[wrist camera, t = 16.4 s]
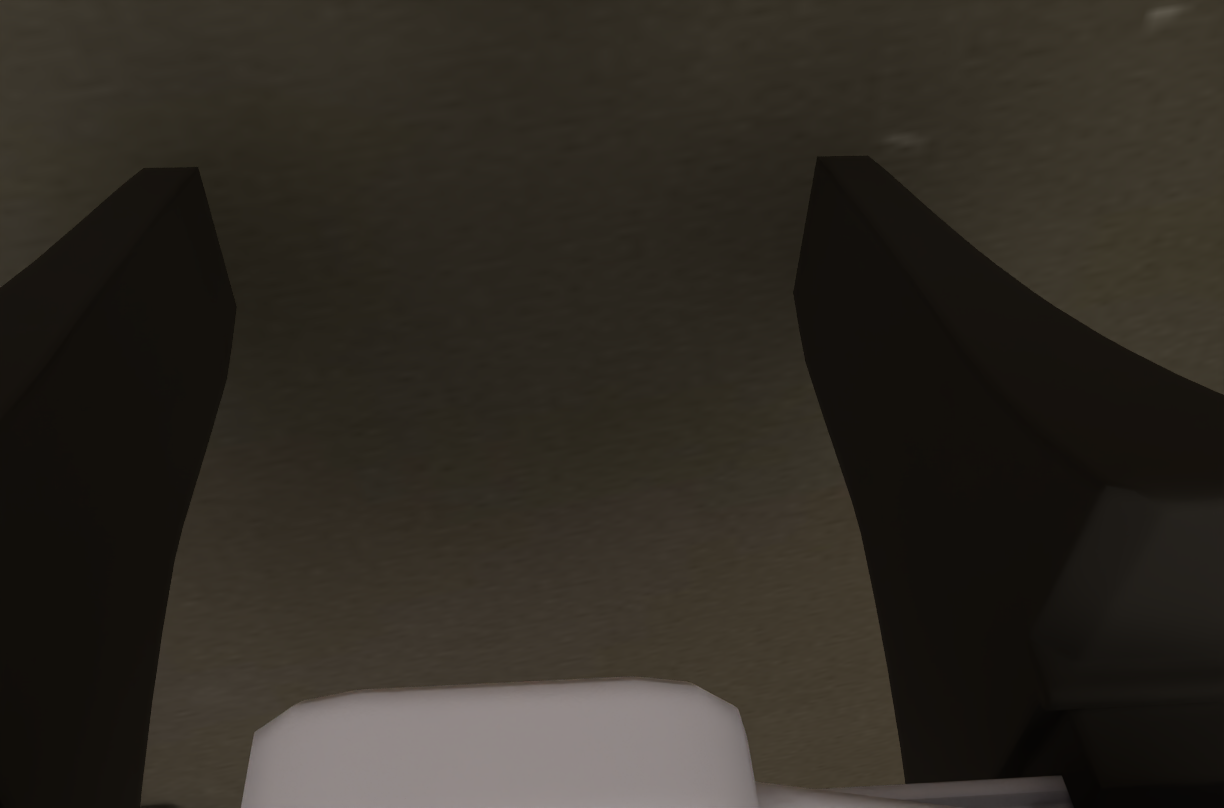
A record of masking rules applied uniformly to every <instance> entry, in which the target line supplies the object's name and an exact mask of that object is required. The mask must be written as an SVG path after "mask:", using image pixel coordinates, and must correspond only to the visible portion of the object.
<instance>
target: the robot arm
mask: <svg viewBox="0 0 1224 808" xmlns="http://www.w3.org/2000/svg"><path fill="white" fill-rule="evenodd" d="M793 294H794V300H795V306H796V312H797V318H798V324H799V330H800V335H801V341H802V346H803V351H804V356H805V361H806V364H807V368H808V371H809V374H810V377H811V380H812V383H813V386H814V389H815V392H816V395H817V399H818V402H819V405H820V408H821V411H822V414H823V417H824V420H825V423H826V426H827V429H828V432H829V435H830V438H831V440H832V443H833V446H834V449H835V452H836V455H837V458H838V461H839V464H840V467H841V470H842V473H843V476H844V479H845V482H846V485H847V488H848V491H849V494H850V497H851V500H852V503H853V507H854V510H855V514H856V517H857V521H858V524H859V528H860V532H861V536H862V540H863V545H864V550H865V555H866V560H867V564H868V569H869V574H870V579H871V583H872V588H873V593H874V598H875V603H876V608H877V614H878V619H879V624H880V630H881V635H882V641H883V646H884V651H885V657H886V662H887V667H888V673H889V679H890V686H891V692H892V698H893V704H894V710H895V716H896V722H897V729H898V735H899V741H900V747H901V754H902V761H903V769H904V776H905V783H906V784H898V785H880V786H862V787H844V788H826V789H811V788H803V787H795V786H787V785H779V784H771V783H763V782H755V780H754V774H753V768H752V762H751V756H750V751H749V745H748V739H747V735H746V732H745V729H744V726H743V723H742V719H741V716H740V713H739V710H738V708H737V707H735V706H734V705H732V704H730V703H728V702H726V701H725V700H723V699H721V698H719V697H717V696H715V695H713V694H711V693H710V692H708V691H706V690H704V689H702V688H700V687H698V686H696V685H694V684H693V683H691V682H689V681H679V680H669V679H659V678H649V677H638V676H626V677H605V678H584V679H563V680H543V681H522V682H501V683H480V684H460V685H439V686H418V687H397V688H377V689H357V690H352V691H347V692H342V693H337V694H332V695H327V696H322V697H317V698H312V699H307V700H302V701H300V702H299V703H297V704H295V705H294V706H292V707H290V708H289V709H288V710H286V711H285V712H283V713H282V714H280V715H279V716H277V717H276V718H274V719H273V720H271V721H270V722H269V723H267V724H266V725H264V726H263V727H261V728H260V729H258V730H257V731H255V732H254V737H253V742H252V748H251V753H250V759H249V765H248V770H247V776H246V782H245V787H244V793H243V799H242V804H241V808H1224V395H1223V394H1220V393H1218V392H1215V391H1213V390H1211V389H1209V388H1206V387H1204V386H1202V385H1200V384H1197V383H1195V382H1193V381H1191V380H1188V379H1186V378H1184V377H1182V376H1180V375H1177V374H1175V373H1173V372H1171V371H1169V370H1167V369H1165V368H1163V367H1161V366H1159V365H1157V364H1155V363H1153V362H1151V361H1149V360H1147V359H1145V358H1144V357H1142V356H1140V355H1138V354H1136V353H1134V352H1132V351H1130V350H1128V349H1126V348H1124V347H1122V346H1120V345H1119V344H1117V343H1115V342H1113V341H1111V340H1109V339H1108V338H1106V337H1104V336H1102V335H1101V334H1099V333H1097V332H1096V331H1094V330H1092V329H1091V328H1089V327H1087V326H1086V325H1084V324H1083V323H1081V322H1079V321H1078V320H1076V319H1074V318H1073V317H1071V316H1069V315H1068V314H1066V313H1065V312H1063V311H1061V310H1060V309H1058V308H1056V307H1055V306H1053V305H1052V304H1050V303H1049V302H1047V301H1046V300H1044V299H1043V298H1042V297H1040V296H1039V295H1037V294H1036V293H1034V292H1033V291H1031V290H1030V289H1029V288H1027V287H1026V286H1025V285H1023V284H1022V283H1021V282H1019V281H1018V280H1016V279H1015V278H1014V277H1012V276H1011V275H1010V274H1008V273H1007V272H1006V271H1004V270H1003V269H1001V268H1000V267H999V266H997V265H996V264H995V263H994V262H992V261H991V260H990V259H989V258H987V257H986V256H985V255H983V254H982V253H981V252H980V251H978V250H977V249H976V248H975V247H973V246H972V245H971V244H970V243H969V242H967V241H966V240H965V239H964V238H963V237H961V236H960V235H959V234H958V233H957V232H955V231H954V230H953V229H952V228H951V227H950V226H948V225H947V224H946V223H945V222H944V221H943V220H941V219H940V218H939V217H938V216H937V215H936V214H934V213H933V212H932V211H931V210H930V209H929V208H928V207H927V206H925V205H924V204H923V203H922V202H921V201H920V200H919V199H918V198H916V197H915V196H914V195H913V194H912V193H911V192H910V191H909V190H907V189H906V188H905V187H904V186H903V185H902V184H901V183H900V182H898V181H897V180H896V179H895V178H894V177H893V176H892V175H890V174H889V173H888V172H887V171H886V170H885V169H884V168H882V167H881V166H880V165H879V164H878V163H876V162H875V161H874V160H873V159H871V158H870V157H869V156H830V157H817V161H816V167H815V172H814V178H813V184H812V189H811V195H810V201H809V206H808V212H807V218H806V223H805V229H804V235H803V240H802V246H801V252H800V257H799V263H798V269H797V274H796V280H795V286H794V291H793ZM236 307H237V306H236V303H235V299H234V296H233V292H232V288H231V285H230V281H229V277H228V274H227V270H226V267H225V263H224V259H223V256H222V252H221V248H220V245H219V241H218V238H217V234H216V230H215V227H214V223H213V219H212V216H211V212H210V209H209V205H208V201H207V198H206V194H205V190H204V187H203V183H202V180H201V176H200V172H199V169H198V167H187V168H144V169H142V170H141V171H140V172H138V173H137V174H136V175H134V176H133V177H132V178H130V179H129V180H128V181H127V182H126V183H124V184H123V185H122V186H121V187H120V188H118V189H117V190H116V191H115V192H114V193H113V194H112V195H110V196H109V197H108V198H107V199H106V200H105V201H104V202H102V203H101V204H100V205H99V206H98V207H97V208H96V209H94V210H93V211H92V212H91V213H90V214H89V215H88V216H87V217H85V218H84V219H83V220H82V221H81V222H80V223H79V224H77V225H76V226H75V227H74V228H73V229H72V230H70V231H69V232H68V233H67V234H66V235H65V236H63V237H62V238H61V239H60V240H59V241H58V242H56V243H55V244H54V245H53V246H52V247H51V248H49V249H48V250H47V251H46V252H45V253H44V254H42V255H41V256H40V257H39V258H38V259H37V260H35V261H34V262H33V263H32V264H31V265H29V266H28V267H27V268H25V269H24V270H23V271H22V272H20V273H19V274H18V275H16V276H15V277H14V278H12V279H11V280H10V281H9V282H7V283H6V284H5V285H3V286H2V287H1V288H0V808H140V802H141V791H142V782H143V774H144V765H145V757H146V749H147V740H148V732H149V723H150V715H151V707H152V699H153V692H154V685H155V679H156V672H157V665H158V658H159V651H160V644H161V637H162V631H163V625H164V619H165V613H166V607H167V601H168V595H169V590H170V584H171V578H172V572H173V566H174V561H175V557H176V552H177V548H178V544H179V540H180V536H181V532H182V528H183V525H184V521H185V518H186V515H187V511H188V508H189V505H190V501H191V498H192V495H193V491H194V488H195V485H196V481H197V478H198V475H199V471H200V468H201V465H202V462H203V458H204V455H205V452H206V448H207V445H208V442H209V438H210V435H211V432H212V428H213V425H214V421H215V418H216V415H217V411H218V408H219V404H220V401H221V397H222V394H223V390H224V387H225V383H226V379H227V374H228V368H229V361H230V354H231V348H232V340H233V332H234V324H235V315H236Z"/></svg>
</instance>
